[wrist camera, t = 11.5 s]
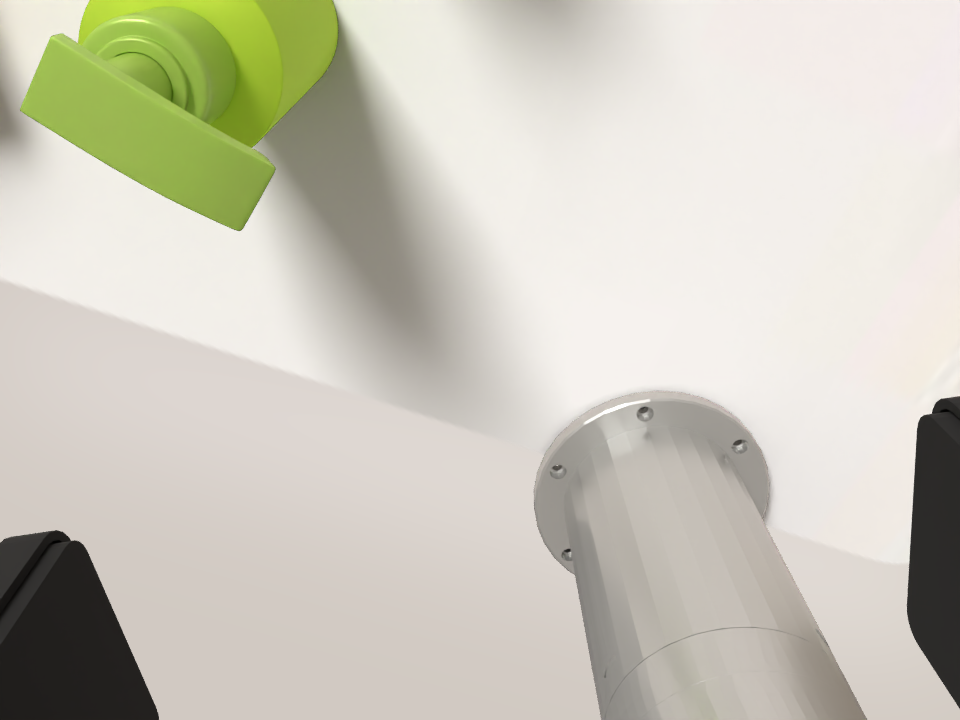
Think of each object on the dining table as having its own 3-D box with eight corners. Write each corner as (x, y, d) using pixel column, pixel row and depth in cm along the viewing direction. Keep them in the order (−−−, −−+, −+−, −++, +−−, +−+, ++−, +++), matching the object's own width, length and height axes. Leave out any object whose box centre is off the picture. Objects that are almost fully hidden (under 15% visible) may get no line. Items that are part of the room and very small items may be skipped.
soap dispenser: (318, 136, 39) (198, 305, 21) (175, 46, 37) (-86, 150, 20) (384, 18, 37) (315, 97, 19) (237, -82, 35) (8, -99, 17)
